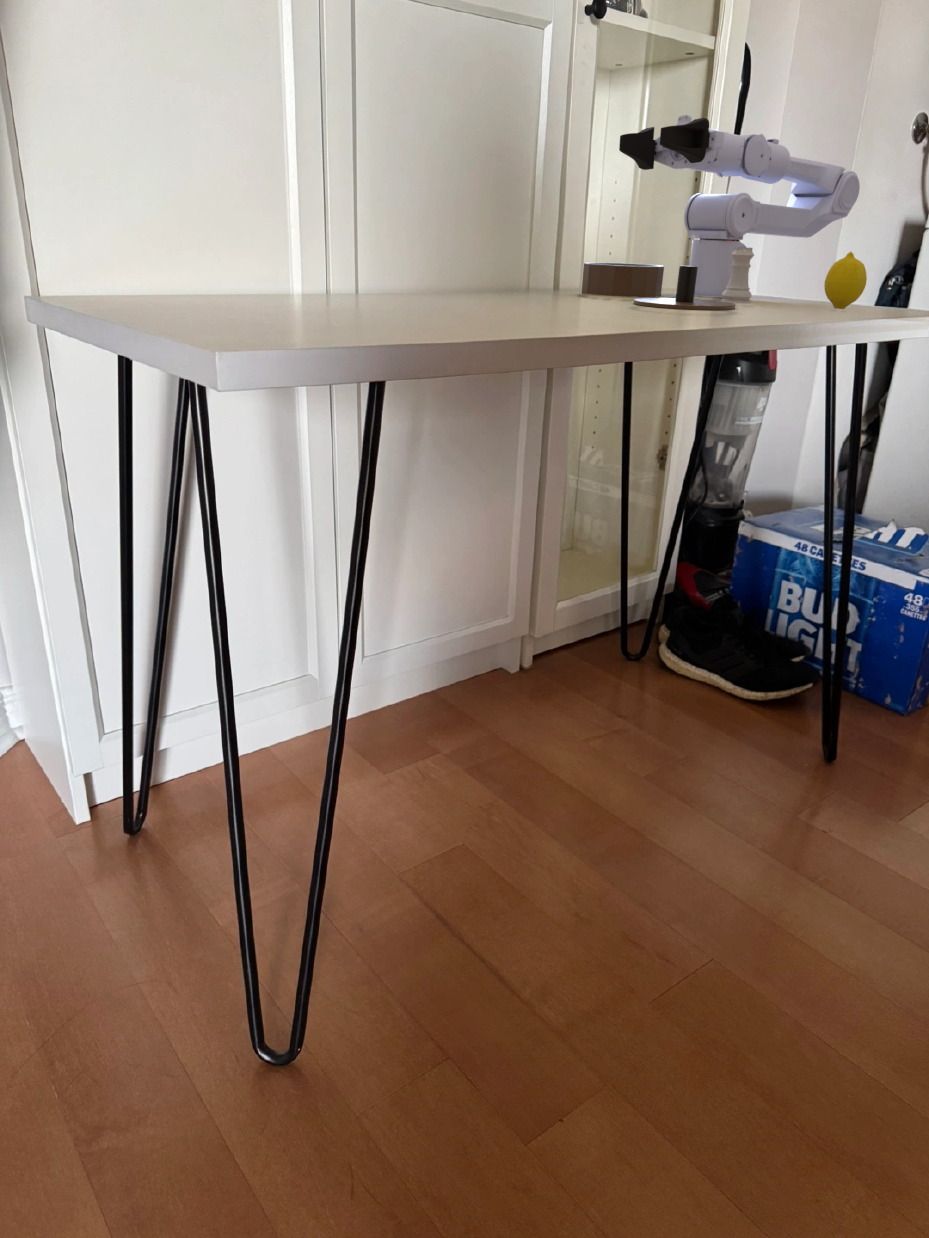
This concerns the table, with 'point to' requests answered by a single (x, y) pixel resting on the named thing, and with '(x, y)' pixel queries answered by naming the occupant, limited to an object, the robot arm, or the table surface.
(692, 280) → the tin lid
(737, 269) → the rook chess piece
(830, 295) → the fruit
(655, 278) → the tin
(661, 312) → the table surface
